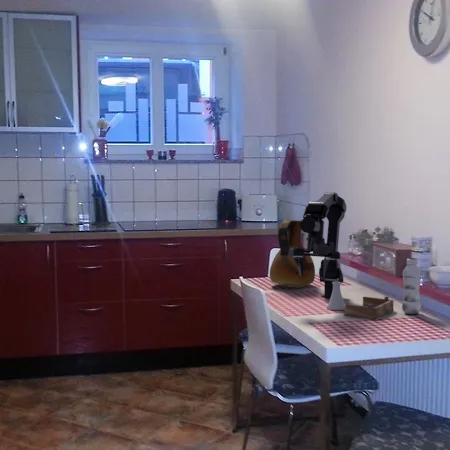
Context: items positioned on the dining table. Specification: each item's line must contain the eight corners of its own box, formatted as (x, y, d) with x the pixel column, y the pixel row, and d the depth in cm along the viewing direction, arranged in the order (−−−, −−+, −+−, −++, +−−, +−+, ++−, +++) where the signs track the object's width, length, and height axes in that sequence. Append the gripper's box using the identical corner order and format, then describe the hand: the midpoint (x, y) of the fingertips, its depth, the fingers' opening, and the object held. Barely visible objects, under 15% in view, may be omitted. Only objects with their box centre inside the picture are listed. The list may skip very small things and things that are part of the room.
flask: (324, 306, 240) (324, 280, 239) (343, 306, 240) (343, 280, 239) (329, 311, 233) (329, 284, 232) (348, 310, 233) (348, 284, 232)
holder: (362, 306, 239) (363, 293, 239) (393, 310, 232) (393, 297, 232) (344, 315, 226) (344, 301, 225) (375, 319, 219) (376, 305, 218)
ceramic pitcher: (322, 284, 283) (322, 218, 280) (302, 292, 266) (302, 222, 263) (283, 281, 293) (282, 216, 290) (262, 288, 276) (261, 220, 273)
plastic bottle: (420, 312, 229) (421, 257, 227) (420, 316, 223) (421, 260, 221) (402, 311, 231) (403, 257, 229) (401, 315, 225) (402, 259, 223)
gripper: (300, 232, 225) (297, 276, 224) (348, 236, 230) (345, 279, 229) (289, 233, 236) (286, 275, 235) (334, 237, 241) (332, 278, 240)
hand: (313, 277), depth 234 cm, fingers open, 9 cm apart
